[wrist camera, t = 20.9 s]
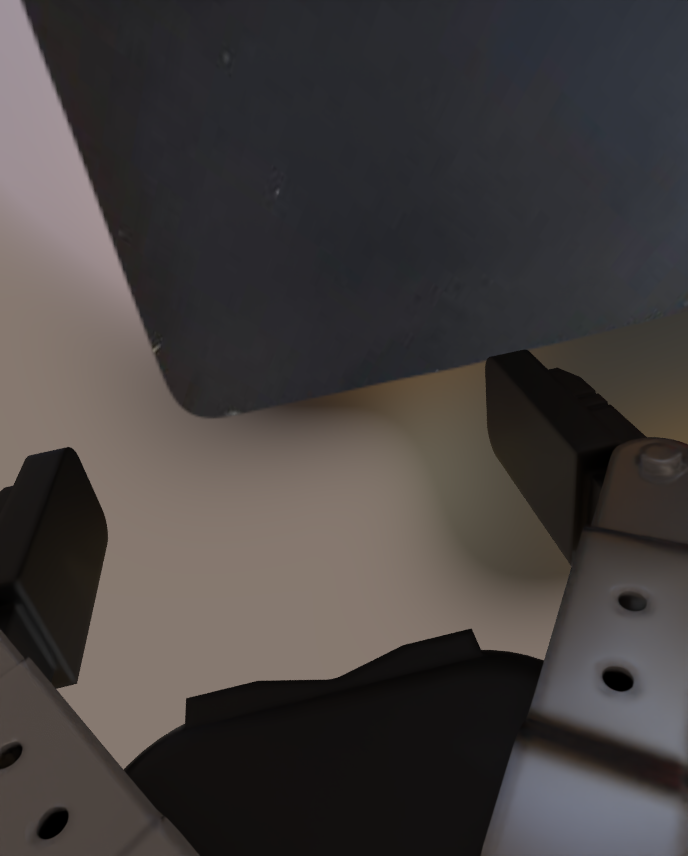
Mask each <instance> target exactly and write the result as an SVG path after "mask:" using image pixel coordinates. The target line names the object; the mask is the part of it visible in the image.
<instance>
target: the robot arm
mask: <svg viewBox="0 0 688 856" xmlns="http://www.w3.org/2000/svg"><path fill="white" fill-rule="evenodd" d="M485 377H486V405H487V428H488V434H489V439H490V442H491V446H492V448H493V451H494V453H495V455H496V457H497V458H498V460H499V461H500V462H501V464H502V465H503V467H504V468H505V470H506V471H507V473H508V474H509V476H510V477H511V479H512V480H513V481H514V483H515V484H516V486H517V487H518V489H519V490H520V492H521V493H522V495H523V496H524V498H525V499H526V501H527V502H528V503H529V505H530V506H531V508H532V509H533V511H534V512H535V514H536V515H537V516H538V518H539V519H540V521H541V522H542V524H543V525H544V527H545V528H546V530H547V531H548V533H549V534H550V536H551V537H552V539H553V540H554V541H555V543H556V544H557V546H558V547H559V549H560V550H561V552H562V553H563V555H564V556H565V557H566V559H567V560H568V562H569V563H570V565H571V566H572V568H571V571H570V574H569V578H568V581H567V585H566V588H565V591H564V595H563V598H562V602H561V605H560V608H559V612H558V615H557V619H556V622H555V625H554V629H553V632H552V636H551V639H550V642H549V646H548V649H547V653H546V656H545V659H544V660H540V659H537V658H534V657H531V656H528V655H523V654H518V653H513V652H507V651H497V650H481V649H480V647H479V644H478V642H477V640H476V638H475V635H474V633H473V631H472V629H468V630H464V631H459V632H455V633H451V634H448V635H443V636H439V637H435V638H431V639H427V640H423V641H419V642H415V643H411V644H406V645H403V646H401V647H399V648H397V649H395V650H393V651H391V652H389V653H387V654H385V655H383V656H381V657H379V658H377V659H375V660H373V661H371V662H369V663H367V664H365V665H363V666H360V667H358V668H357V669H355V670H352V671H350V672H348V673H346V674H345V675H343V676H340V677H338V678H334V679H329V680H287V681H285V680H281V681H256V682H252V683H248V684H243V685H239V686H235V687H231V688H227V689H223V690H219V691H215V692H211V693H207V694H203V695H198V696H195V697H190V698H187V699H186V716H185V724H183V725H181V726H180V727H178V728H176V729H174V730H172V731H171V732H169V733H168V734H166V735H164V736H163V737H161V738H160V739H159V740H157V741H156V742H154V743H153V744H152V745H151V746H149V747H148V748H147V749H146V750H144V751H143V752H142V753H141V754H139V755H138V756H137V757H136V758H135V759H134V760H133V761H132V762H131V763H130V764H129V765H128V766H127V767H126V768H125V769H124V770H123V769H122V768H121V767H120V765H119V764H118V763H117V762H116V761H115V759H114V758H113V757H112V756H111V754H110V753H109V752H108V751H107V750H106V749H105V747H104V746H103V745H102V744H101V742H100V741H99V740H98V739H97V738H96V736H95V735H94V734H93V733H92V732H91V730H90V729H89V728H88V727H87V726H86V724H85V723H84V722H83V721H82V720H81V718H80V717H79V716H78V715H77V714H76V712H75V711H74V710H73V709H72V708H71V707H70V705H69V704H68V703H67V702H66V701H65V699H63V697H62V696H61V695H60V693H59V692H58V691H57V690H56V689H57V688H61V687H65V686H69V685H73V684H77V681H78V676H79V671H80V667H81V662H82V658H83V653H84V649H85V644H86V639H87V635H88V630H89V626H90V621H91V616H92V612H93V607H94V603H95V598H96V593H97V589H98V584H99V580H100V575H101V570H102V566H103V561H104V556H105V552H106V547H107V542H108V531H107V524H106V519H105V516H104V513H103V510H102V508H101V506H100V503H99V501H98V499H97V497H96V494H95V492H94V490H93V488H92V486H91V483H90V481H89V479H88V477H87V474H86V472H85V470H84V468H83V466H82V463H81V461H80V459H79V457H78V455H77V453H76V452H75V451H74V450H73V449H72V448H70V447H67V448H62V449H57V450H53V451H48V452H44V453H39V454H34V455H30V456H28V457H27V458H26V459H25V461H24V464H23V466H22V468H21V470H20V472H19V474H18V477H17V479H16V481H15V483H14V485H13V486H10V487H6V488H4V489H3V490H1V491H0V856H688V444H685V443H683V442H680V441H676V440H672V439H666V438H656V437H646V436H645V435H644V434H643V433H641V432H640V431H639V430H638V429H637V428H636V427H635V426H634V425H633V424H631V423H630V422H629V421H628V420H627V419H626V418H625V417H624V416H623V415H621V414H620V413H619V412H618V411H617V410H616V409H614V407H613V406H612V405H608V403H607V401H606V400H605V399H604V398H603V397H602V396H601V395H599V394H596V393H595V390H594V389H593V388H592V387H591V386H590V385H588V384H587V383H586V382H585V381H584V380H583V379H582V378H581V377H579V376H576V375H574V374H571V373H569V372H566V371H564V370H561V369H559V368H554V369H549V370H548V369H547V368H545V366H543V365H542V363H541V362H540V361H538V359H536V358H535V357H534V356H533V355H532V354H531V353H530V352H529V351H528V350H520V351H516V352H511V353H506V354H502V355H497V356H492V357H489V358H488V359H487V361H486V366H485Z"/></svg>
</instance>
